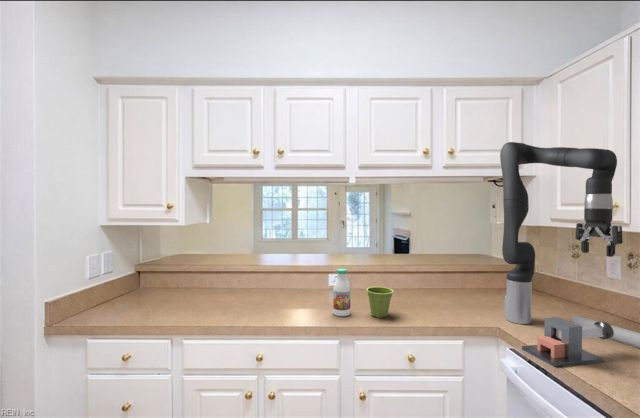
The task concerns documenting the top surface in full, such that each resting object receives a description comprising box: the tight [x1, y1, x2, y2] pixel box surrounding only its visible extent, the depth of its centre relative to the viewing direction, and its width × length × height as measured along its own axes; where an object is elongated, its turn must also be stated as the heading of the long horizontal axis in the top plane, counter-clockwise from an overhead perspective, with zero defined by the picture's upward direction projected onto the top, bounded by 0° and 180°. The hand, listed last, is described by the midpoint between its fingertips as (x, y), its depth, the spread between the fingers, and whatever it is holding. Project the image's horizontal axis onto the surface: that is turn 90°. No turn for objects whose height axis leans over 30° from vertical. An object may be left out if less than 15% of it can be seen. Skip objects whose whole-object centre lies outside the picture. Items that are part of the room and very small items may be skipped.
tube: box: [570, 315, 640, 349], centre depth 127 cm, size 5×5×25 cm
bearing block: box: [521, 316, 605, 368], centre depth 111 cm, size 13×18×11 cm
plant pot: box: [366, 286, 394, 318], centre depth 151 cm, size 12×12×11 cm
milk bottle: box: [332, 268, 351, 317], centre depth 152 cm, size 8×8×20 cm
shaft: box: [556, 320, 614, 340], centre depth 113 cm, size 6×18×6 cm, turn 102°
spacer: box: [536, 336, 565, 358], centre depth 111 cm, size 6×4×4 cm, turn 12°
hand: (597, 254), depth 117 cm, fingers open, 8 cm apart
